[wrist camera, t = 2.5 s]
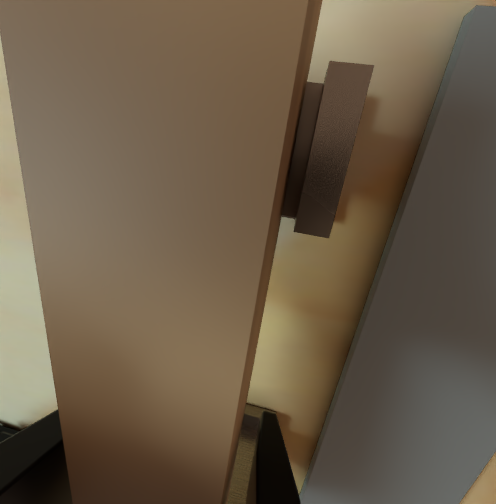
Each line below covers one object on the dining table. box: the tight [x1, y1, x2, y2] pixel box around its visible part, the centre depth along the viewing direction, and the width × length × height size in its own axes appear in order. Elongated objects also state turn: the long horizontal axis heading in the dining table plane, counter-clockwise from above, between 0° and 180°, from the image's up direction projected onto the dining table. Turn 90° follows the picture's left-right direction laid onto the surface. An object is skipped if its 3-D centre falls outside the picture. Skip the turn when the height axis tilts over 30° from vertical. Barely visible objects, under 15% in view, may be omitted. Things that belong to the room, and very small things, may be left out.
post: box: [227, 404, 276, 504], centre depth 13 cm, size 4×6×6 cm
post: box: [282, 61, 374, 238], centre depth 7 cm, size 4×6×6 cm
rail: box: [0, 0, 322, 504], centre depth 7 cm, size 20×3×3 cm, turn 172°
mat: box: [299, 5, 496, 504], centre depth 11 cm, size 24×7×1 cm, turn 172°
